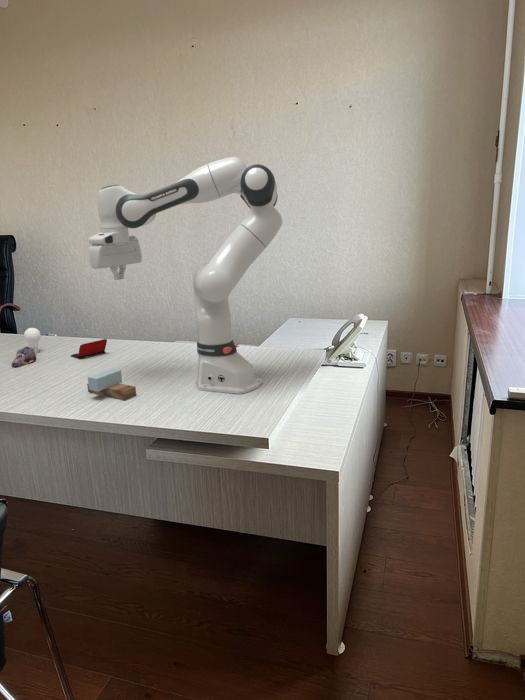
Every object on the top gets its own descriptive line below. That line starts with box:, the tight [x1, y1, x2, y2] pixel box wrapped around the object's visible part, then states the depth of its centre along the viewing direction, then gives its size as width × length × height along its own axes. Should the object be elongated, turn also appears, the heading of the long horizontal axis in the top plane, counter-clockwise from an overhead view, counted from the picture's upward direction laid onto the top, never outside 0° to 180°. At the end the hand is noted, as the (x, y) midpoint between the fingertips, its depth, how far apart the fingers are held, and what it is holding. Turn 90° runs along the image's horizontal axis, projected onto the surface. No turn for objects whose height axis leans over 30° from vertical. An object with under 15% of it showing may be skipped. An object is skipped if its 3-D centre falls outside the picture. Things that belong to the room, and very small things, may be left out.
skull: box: [11, 346, 37, 368], centre depth 203 cm, size 12×8×6 cm, turn 166°
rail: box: [86, 383, 137, 402], centre depth 168 cm, size 16×5×3 cm, turn 59°
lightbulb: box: [23, 327, 42, 354], centre depth 217 cm, size 6×6×11 cm
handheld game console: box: [70, 338, 108, 360], centre depth 212 cm, size 12×10×7 cm
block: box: [87, 368, 123, 391], centre depth 167 cm, size 4×4×10 cm
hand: (119, 279), depth 177 cm, fingers closed
